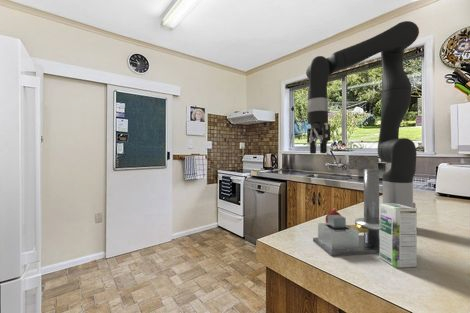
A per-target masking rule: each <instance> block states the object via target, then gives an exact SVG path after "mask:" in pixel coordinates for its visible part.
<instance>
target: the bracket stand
mask: <svg viewBox="0 0 470 313" xmlns="http://www.w3.org/2000/svg"><path fill="white" fill-rule="evenodd" d="M317 228H318V229H317V235H318V236H317V237H313V238H312V241H313V243H315V244H316V245H317V246H318V247H319V248H321V249H322V250H323V251H324V252H326V253H327V254H328V256H330V257H337V256H339V257H340V256H341V257H342V256H356V255H357V256H358V255H374V254H380V170H379V168H364V169H363V217H358V218H355V219H354V224H346V230H333V229H331V228H329V227H328V223H326V222H324V223H318V224H317ZM359 233H360V234H361V233H362V234H361V235H360V234H359Z"/></svg>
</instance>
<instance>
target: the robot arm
mask: <svg viewBox="0 0 470 313" xmlns="http://www.w3.org/2000/svg"><path fill="white" fill-rule="evenodd" d="M419 34H420V29H419V26H418V25H417V23H415V22H414V21H410V20H405V21H400V22H398V23H397V24H395V25H394V26H392V27H390V28H388V29H386V30H385V31H383V32H381V33H378V34H376V35H375V36H372V37H370V38H368V39H366V40H363V41H361V42H359V43H356V44H353V45H350V46H348V47H346V48H343V49H339V50H337V51H334V52H333V53H331V54H330V55H329V57H325V56H322V55H319V56H316V57H314V58H313V59H311V61H310V63H309V65H308V66H307V67H306V70H305V74H306V77H307V79H309V86H308V88H307V105H306V106H307V107H306V108H307V109H306V111H307V118H306V119H307V120H306V121H307V125H310V128H307V130H306V131H307V132H306V134H307V135H306V143H308V145H309V154H317V145H316V144H317V142H318V140H319V143H320V144H319V150H320V151H319V152H320V154H327V152H328V150H327V149H328V148H327V147H328V142H330V141H331V140H332V139H331V124H330V123H329V124H328V122H329V102H328V82H329V76H330V75H333V74H335V73H336V72H338V71H342V70H344V69H347V68H350V67H353V66H355V65H357V64H359V63H362V62H363V61H365V60H368V59H369V58H371V57H373V56H375V55H378V54H379V53H380V57H381V68H382V69H381V71H382V72H381V97H380V99H381V101H380V104H381V105H380V108H381V109H380V112H381V113H380V125H379V126H380V127H379V135H378V142H377V156H378V157H379V159H380V160H381V161H382V162H383V163H388V164H390V169H389V170H388V171H386V172H384V173H383V174H382V178H381V179H382V204H386V203H394V204H400V205H404V206H407V207H411V208H416V202H414V184H413V183H414V181H413V180H414V177H415V175H416V170H417V169H416V168H417V167H416V166H417V148H416V144H415V143H414V142H413V140H411V139H410V138H408V137H407V138H405V137H400V138H399V132H400V127H401V126H400V125H401V124H402V121H403V120H404V118H405V115H406V114H407V112H408V110H409V108H410V105H411V102H412V84H411V80H410V79H409V77H408V75H407V74H406V70H404V64H403V62H404V53H405V52H404V51H405V50H407V48H408V47H410V46H412V45H413V44H414V43H415V41H416V40H417V39H418V37H419Z"/></svg>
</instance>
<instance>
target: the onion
mask: <svg viewBox="0 0 470 313" xmlns="http://www.w3.org/2000/svg"><path fill="white" fill-rule="evenodd" d="M328 215H340V216H342V215H341V213H339V212H338V211H337V209H336V208H332V210H331V211H330V212H329V211H328V213H327V214H326V216H325V223H328Z"/></svg>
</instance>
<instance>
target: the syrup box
mask: <svg viewBox="0 0 470 313" xmlns="http://www.w3.org/2000/svg"><path fill="white" fill-rule="evenodd" d="M417 211H418V209H417V208H411V207H407V206H404V205H400V204H394V203H386V204H383V203H379V220H380V230H379V234H380V253H379V259H380V260H382V261H384V262H386V263H387V264H390V265H391V266H392V267H394V268H395V269H398V268H400V269H401V268H413V267H414V268H415V267H417V253H418V252H417V249H418V248H417V243H418V241H417V240H418V239H417V237H418V236H417V234H418V233H417V231H418V228H417V227H418V226H417V225H418V224H417V223H418V220H417V216H418V212H417Z"/></svg>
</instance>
